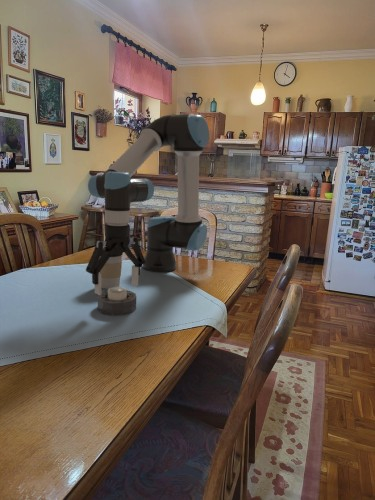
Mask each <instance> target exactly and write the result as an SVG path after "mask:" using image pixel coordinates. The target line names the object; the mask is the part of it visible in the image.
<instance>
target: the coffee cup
mask: <svg viewBox="0 0 375 500" xmlns="http://www.w3.org/2000/svg"><path fill="white" fill-rule="evenodd" d="M105 248H106V246H104V248H103V250H102V253H101V255H100V257H101V256H102V254H103V251H104V250H105ZM108 252H109V251H108ZM123 254H124V252H123V253H118V254H113V255H112V256H111V257H110V258H109V259H108V261H107V262H106V264H105V265H104V266H103V268H102V269H101V271H100V272H99V274H101V289H104V288H105V289H106V290H108V289H110V288H113V287H121V285H120V284H121V276H122V266H123V265H122V264H123V260H122V259H123ZM99 259H100V258H99Z"/></svg>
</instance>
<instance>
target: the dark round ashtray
mask: <svg viewBox="0 0 375 500" xmlns="http://www.w3.org/2000/svg"><path fill="white" fill-rule="evenodd" d="M135 310H137V293H136V292H133V291H131V290H129V289H127V299H124V300H109V299H108V290H103V291H101V295H98V294H97V311H98V312H100V313H101V314H102V315H109V316H125V315H128V314H132V313H133V312H134V311H135Z"/></svg>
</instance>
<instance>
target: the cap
mask: <svg viewBox="0 0 375 500" xmlns="http://www.w3.org/2000/svg"><path fill="white" fill-rule="evenodd" d="M127 290H128V289H127V288H125V287H122V286H119V287H113V288H110V289H107V291H108V299H109V300H124V299H127Z"/></svg>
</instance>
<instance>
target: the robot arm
mask: <svg viewBox="0 0 375 500" xmlns="http://www.w3.org/2000/svg"><path fill="white" fill-rule="evenodd" d="M209 141H210V129H209V125H208V122H207V120H206V119H205V117H204V116H202V115H200V114H191V113H190V114H168V115H167V114H166V115H163V116H160V117H158V118H156V119H155V120H153V121H151V122H150V123H149V124H147V125H146V126H145V127H144V128H143V129H142V130H141V132H140V134H139V137H138V138H137V139H136V140H135V141H134V142H133V143H132V144H130V146H129V147H128V148H127V149H126V150H125V151H124V153H122V154H121V155H120V156H119V158H117V159H116V160H115V161H114V162H113V163H112V164H111V165H110V167H108V168H107V170H106V171H105V172H103V173H102V174H97V175H95V174H94V175H92V176H91V177H90V178H89V180H88V183H87V187H88V188H87V189H88V191H89V193H90V195H91V196H93V197H95V198H100V199H104V223H105V225H104V236H105V240H104V241H101V240H96V241H95V244H94V245H95V246H94V249H93V252H92V254H91V256H90V259H89V261H88V263H87V265H86V268H85V272H87V273H88V274H90V275H91V283H92V284H93V285H94V294H97V296H98V295H101V293H102V287H101V274H100V273H99V272H100V271H101V269H102V268H103V266H104V265H105V264H106V262H107V261H108V259H109V258H110V257H111V256H112V255H113V254H118V253H123V254H125V255H126V256H127V258H128V259H129V260H130V261H131V262H132V263H133V265H131V285H132V286H134V287H138V286H139V276H140V275H141V268H143V269H144V270H147V271H151V272H159V273H163V272H164V273H165V272H171V271H174V270H176V269H177V261H176V258H175V253H174V249H175V248H176V249H180V250H181V249H182V250H187V251H199V250H200V249H201V248H202V247H204V244H205V242H206V239H207V236H208V228H207V225H206V224H204V223H203V218H202V216H200V215H199V212H200V211H199V207H200V205H199V203H200V202H199V201H200V195H199V194H200V155H201V154H202V153H204V148H205V147H207V145H208V144H209ZM164 147H173V152H174V153H175V154H176V156H177V215H176V216H175V217H174V216H172V215H165V216H164V215H162V216H153V217H150V218H149V219H148V220H147V227H146V229H147V231H146V233H147V235H146V239H147V240H146V242H147V243H146V253H145V256H144V254H143V252H142V250H141V247H140V245H139V239H138V237H136V236H133V235H131V236H130V234H131V231H130V230H131V226H130V224H129V223H130V222H131V203H139V202H140V203H142V202H143V203H144V202H145V201H149V200H151V199H152V197H153V196H154V195H155V194H154V193H155V186H154V183H153V182H152V181H151V180H150V179H149V178H145V177H137V178H136V177H132V176H133V175H134V174H135V173H136V172H137V171H138V170H139V169H140V168H141V166H142V165H143V164H144V163H145V162H146V161H147V159H149V158H150V157H151V155H152V154H153V153H154V152H158V151H159V150H160V149H161V148H164ZM129 245H131V247H132V250H131V249H130V247H129ZM104 247H106V248H105V250H104V251H103V254H102V256H101V257H100V255H101V253H102V250H103V248H104ZM108 251H109V252H108ZM132 251H133V252H134V253H133V252H132ZM99 258H100V259H99Z"/></svg>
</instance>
